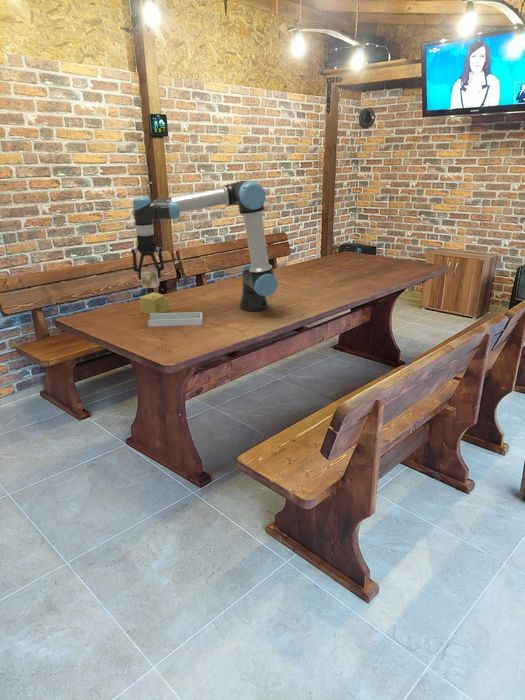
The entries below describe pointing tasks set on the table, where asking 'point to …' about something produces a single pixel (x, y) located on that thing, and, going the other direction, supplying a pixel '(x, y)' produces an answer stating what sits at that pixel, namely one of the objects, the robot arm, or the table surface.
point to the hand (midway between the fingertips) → (150, 285)
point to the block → (149, 280)
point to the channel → (175, 319)
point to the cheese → (153, 303)
